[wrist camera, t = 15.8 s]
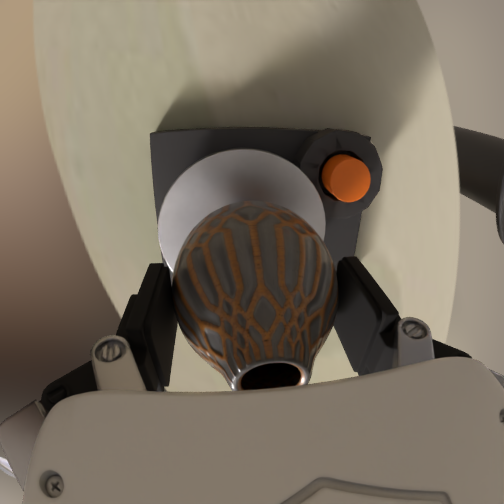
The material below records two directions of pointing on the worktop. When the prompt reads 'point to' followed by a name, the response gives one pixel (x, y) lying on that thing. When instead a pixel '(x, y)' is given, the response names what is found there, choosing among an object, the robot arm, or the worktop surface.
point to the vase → (255, 294)
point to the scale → (287, 146)
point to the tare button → (346, 177)
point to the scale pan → (234, 193)
